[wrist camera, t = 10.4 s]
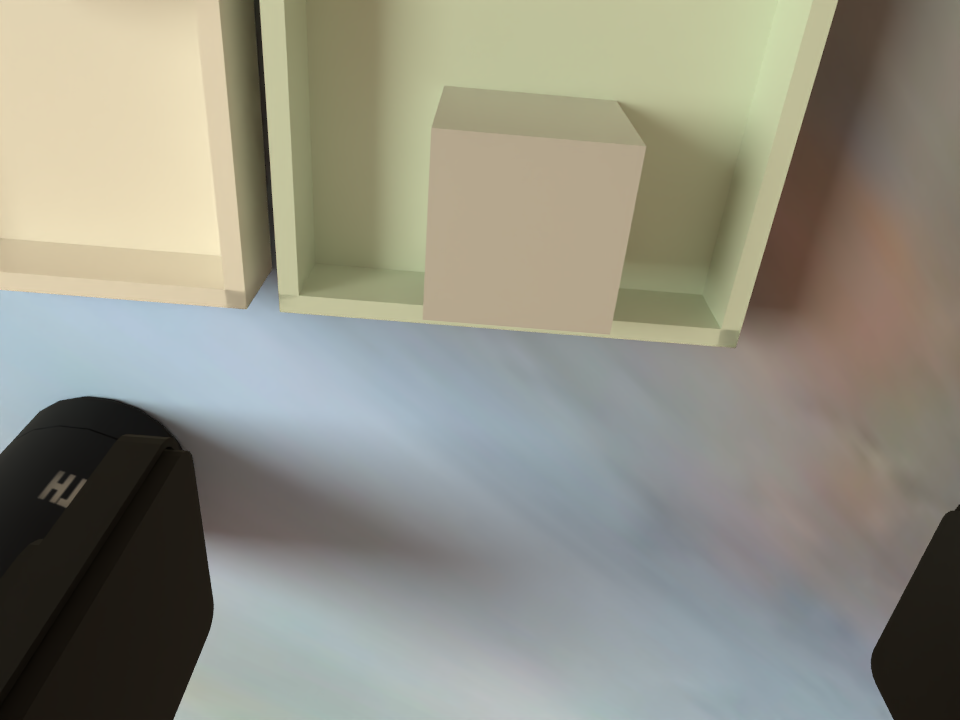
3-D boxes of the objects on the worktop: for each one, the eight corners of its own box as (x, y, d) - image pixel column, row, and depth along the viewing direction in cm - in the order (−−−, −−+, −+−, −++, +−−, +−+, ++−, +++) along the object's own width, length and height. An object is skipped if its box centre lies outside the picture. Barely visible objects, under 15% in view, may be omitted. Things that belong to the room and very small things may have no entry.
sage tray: (271, -372, 17) (231, -423, 14) (875, -310, 17) (941, -350, 15) (301, 271, 25) (280, 311, 23) (711, 304, 26) (735, 347, 23)
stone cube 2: (444, 85, 21) (430, 128, 17) (616, 100, 22) (646, 146, 17) (435, 247, 24) (422, 319, 20) (589, 260, 24) (609, 334, 20)
